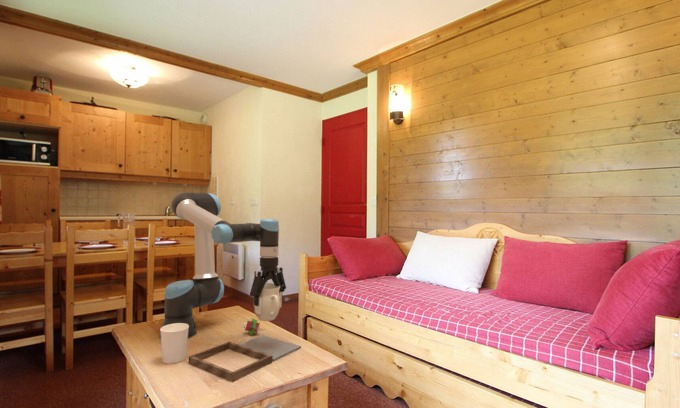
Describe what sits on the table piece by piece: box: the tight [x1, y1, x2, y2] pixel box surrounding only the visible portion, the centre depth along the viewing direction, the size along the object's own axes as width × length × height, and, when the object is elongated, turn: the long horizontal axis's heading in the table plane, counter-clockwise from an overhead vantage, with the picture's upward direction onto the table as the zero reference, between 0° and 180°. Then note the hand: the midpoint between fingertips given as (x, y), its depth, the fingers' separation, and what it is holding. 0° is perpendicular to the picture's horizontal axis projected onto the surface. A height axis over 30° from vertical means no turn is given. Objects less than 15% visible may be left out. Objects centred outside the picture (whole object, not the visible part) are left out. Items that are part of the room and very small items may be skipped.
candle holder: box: [159, 323, 189, 365], centre depth 135 cm, size 10×10×12 cm
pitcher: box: [252, 282, 281, 322], centre depth 146 cm, size 11×18×14 cm, turn 36°
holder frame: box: [187, 341, 273, 383], centre depth 132 cm, size 24×18×2 cm
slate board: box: [238, 334, 302, 362], centre depth 146 cm, size 22×16×1 cm
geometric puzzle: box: [243, 317, 261, 337], centre depth 163 cm, size 7×7×8 cm
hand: (268, 310), depth 147 cm, fingers closed on pitcher, 11 cm apart
